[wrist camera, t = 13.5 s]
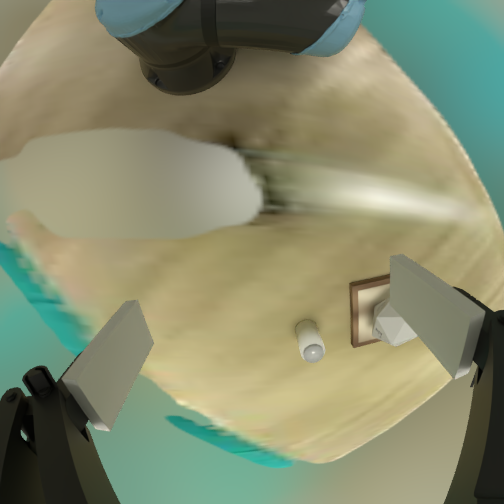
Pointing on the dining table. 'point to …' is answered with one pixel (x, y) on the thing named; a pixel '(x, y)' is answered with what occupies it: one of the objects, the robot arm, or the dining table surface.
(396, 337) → the die
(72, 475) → the robot arm
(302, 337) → the shaker
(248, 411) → the dining table surface
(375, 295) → the board
